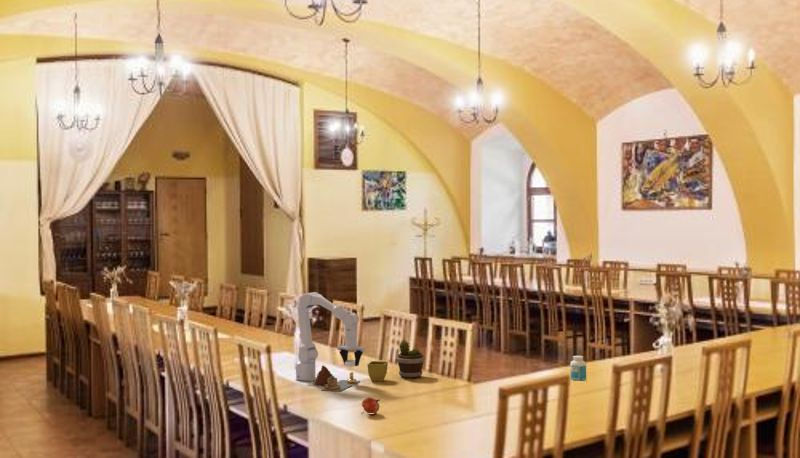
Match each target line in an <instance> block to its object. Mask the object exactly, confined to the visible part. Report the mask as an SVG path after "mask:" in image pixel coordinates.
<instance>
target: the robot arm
mask: <svg viewBox="0 0 800 458" xmlns="http://www.w3.org/2000/svg"><path fill="white" fill-rule="evenodd" d="M298 301H299V302H298V306H297V316H298V324H299V325H298V326H299V333H300V340H301V344H300V346H299V347H298V354H297V355H298V357H297V358H298V360H299V361H297V363H296V366H295V379H294V380H295V381H306V382H307V381H308V382H313V381H315V380H316V379H317V373H316V359H317V358H318V356H319V352H318V349H317V347H316V343H314V342H313V337H312V327H311V319H310V310H312V309H313V307H315V306H317V305H318V306H321V307H323V308H324V309H327V310H328V311H330V312H332V313H331V315H332V316H334V317H335V318H337V319H338V320H340V321H342V323H343V325H344V333H345V335H344V337H345V338H344V339H345V342H344V343H345V344H344V345H337V349H336V350H337V351H339V354H340V356H341V359H342V361H343V365H344V366H345V361H346V360H349V359H348V355H349V351H350V352H351V351H352V352H353V351H354V352H353V353H354V354H353V355H354V360H355V365H356V366H355V367H359V366H360V361H361V358H362V356H363V353H364V352H366V346H358V333H357V332H358V329H357V328H358V327H357V326H358V325H357V324H358V323H359V320H360V319H359V316H358V314H357V313H356V312H351V311H350V310H347V309H346V308H344V306H343V305H340V304H338V305H335V304H333V303H332V302H331V301H330V300H328V299H327V298H325V297H324V296H323V295H322V293H321V294H320V293H318V291H317V292H316V291H313V292H308V293H307V292H306V293H302V295H300V296H299V298H298Z"/></svg>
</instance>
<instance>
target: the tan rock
mask: <svg viewBox="0 0 800 458" xmlns="http://www.w3.org/2000/svg"><path fill="white" fill-rule="evenodd" d="M337 382H338V377H335V376H334V375H333V376H330V378H328V384H327V385H324V388H325V389H339V388H340V385H337Z"/></svg>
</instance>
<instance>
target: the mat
mask: <svg viewBox="0 0 800 458" xmlns="http://www.w3.org/2000/svg"><path fill="white" fill-rule="evenodd" d="M360 382H361V380H356V383H353V384H349V383H347V379H341V380H337V385H340V388H339V389H325V387H324V388H322V389H321V391H324V392H325V391H326V392H339V393H341V392H342V391H345V390H347V389H348V388H351V387H353V386H354V385H356V384H359V383H360Z"/></svg>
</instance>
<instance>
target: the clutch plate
mask: <svg viewBox="0 0 800 458" xmlns="http://www.w3.org/2000/svg"><path fill="white" fill-rule="evenodd" d="M344 366H345V367H349V368H350V367H351V368H352V367H357V366H356V365H355V359H348V360H346V361H345V365H344Z"/></svg>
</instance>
